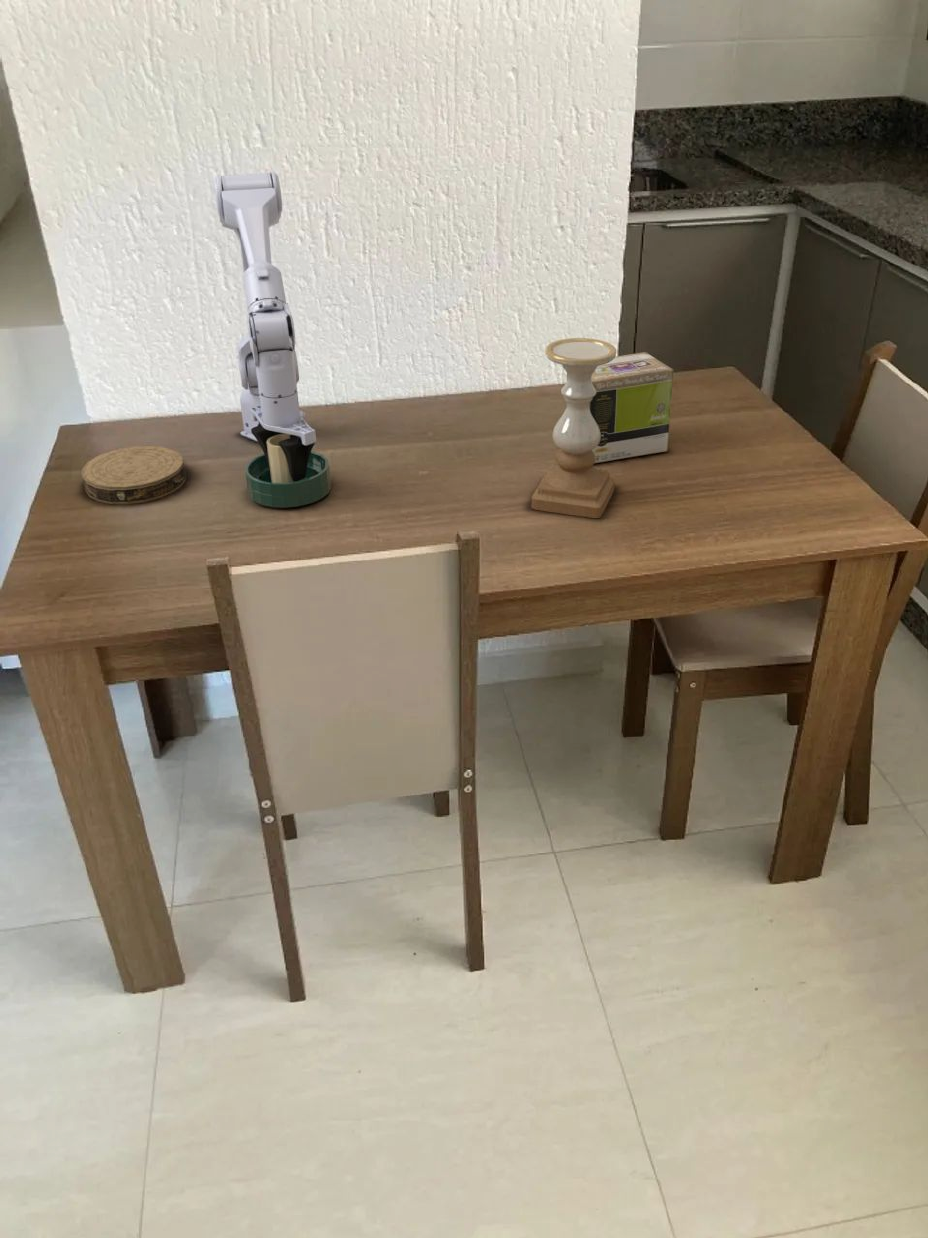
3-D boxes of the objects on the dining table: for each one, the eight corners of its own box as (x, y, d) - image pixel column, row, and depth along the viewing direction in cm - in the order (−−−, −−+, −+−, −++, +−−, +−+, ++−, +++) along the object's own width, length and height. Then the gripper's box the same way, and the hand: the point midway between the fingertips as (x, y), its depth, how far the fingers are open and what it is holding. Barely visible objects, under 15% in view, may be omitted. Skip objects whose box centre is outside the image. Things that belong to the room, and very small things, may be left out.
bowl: (232, 494, 162) (228, 468, 160) (294, 467, 170) (291, 442, 168) (285, 518, 155) (281, 491, 153) (347, 489, 163) (345, 463, 161)
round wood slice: (96, 464, 172) (92, 448, 171) (191, 459, 174) (188, 443, 172) (75, 507, 159) (71, 490, 158) (179, 501, 160) (176, 484, 159)
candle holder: (615, 488, 162) (626, 340, 149) (599, 519, 153) (610, 364, 140) (548, 479, 165) (553, 333, 152) (529, 509, 157) (533, 356, 143)
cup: (265, 484, 162) (259, 440, 158) (292, 473, 165) (287, 430, 161) (285, 494, 159) (279, 450, 155) (312, 484, 162) (308, 439, 158)
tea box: (641, 431, 181) (648, 349, 173) (667, 453, 173) (676, 368, 165) (562, 443, 177) (566, 360, 169) (586, 466, 169) (591, 380, 161)
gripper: (328, 396, 152) (336, 479, 159) (272, 373, 160) (281, 453, 168) (290, 409, 147) (299, 494, 155) (234, 384, 156) (245, 466, 164)
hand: (288, 473), depth 161 cm, fingers closed on cup, 5 cm apart
